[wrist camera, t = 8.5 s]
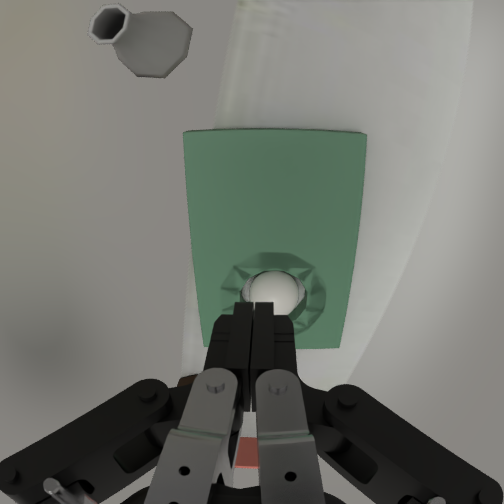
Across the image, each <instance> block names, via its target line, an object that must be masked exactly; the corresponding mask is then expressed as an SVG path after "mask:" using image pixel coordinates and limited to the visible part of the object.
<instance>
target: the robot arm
mask: <svg viewBox="0 0 504 504" xmlns="http://www.w3.org/2000/svg"><path fill="white" fill-rule="evenodd" d="M251 400H252V412H256V423H257V424H256V426H257V450H258V470H259V471H258V472H259V486H255V487H249V488H243V489H236V488H233V474H234V468H235V463H236V457H237V452H238V447H239V441H240V436H241V429H242V427H241V426H242V423H243V413H244V412H250V405H251ZM317 454H318V455H319V456H320V457H321V458H322V459H323V460H325V461H326V462H327V463H328V464H329V465H330V466H331V467H332V468H334V469H335V470H336V471H337V472H338V473H339V474H341V475H342V476H343V477H344V478H345V479H347V480H348V481H349V482H350V483H351V484H352V485H354V486H355V487H356V488H357V489H358V490H360V491H361V492H362V493H363V494H364V495H366V496H367V497H368V498H369V499H371V500H372V501H373V502H374V503H376V504H502V502H503V491H502V488H501V486H500V485H499V483H498V482H496V481H495V480H494V479H492V478H490V477H489V476H487V475H486V474H484V473H483V472H481V471H480V470H478V469H476V468H475V467H473V466H472V465H470V464H469V463H467V462H466V461H464V460H463V459H461V458H460V457H458V456H456V455H455V454H454V453H452V452H451V451H449V450H447V449H446V448H445V447H443V446H442V445H440V444H439V443H437V442H435V441H434V440H433V439H431V438H430V437H428V436H427V435H425V434H424V433H423V432H421V431H420V430H418V429H417V428H415V427H414V426H412V425H411V424H410V423H408V422H407V421H405V420H404V419H402V418H401V417H399V416H398V415H397V414H395V413H394V412H393V411H391V410H390V409H388V408H387V407H386V406H384V405H383V404H381V403H380V402H379V401H377V400H376V399H375V398H373V397H372V396H370V395H369V394H367V393H366V392H365V391H364V390H362V389H361V388H359V387H357V386H354V385H349V384H343V385H338V386H335V387H333V388H331V389H330V390H329V391H328V392H327V391H323V390H318V389H314V388H312V387H309V386H308V385H306V384H305V383H303V382H302V380H301V379H300V378H299V376H298V373H297V362H296V349H295V337H294V325H293V322H292V321H291V319H290V318H289V317H288V315H274V302H255V310H254V302H235V304H234V310H233V314H221V315H220V316H219V317H218V319H217V320H216V321H215V322H214V325H213V329H212V334H211V338H210V343H209V347H208V352H207V356H206V361H205V365H204V369H203V371H202V372H201V373H199V374H198V375H197V377H196V378H195V380H194V382H192V383H190V384H188V385H184V386H179V387H174V388H168V387H167V385H166V384H165V383H163V382H162V381H160V380H157V379H145V380H141V381H139V382H137V383H135V384H133V385H132V386H130V387H129V388H127V389H126V390H124V391H122V392H120V393H119V394H117V395H116V396H114V397H112V398H111V399H109V400H108V401H106V402H104V403H102V404H101V405H99V406H97V407H96V408H94V409H93V410H91V411H89V412H87V413H86V414H84V415H82V416H81V417H79V418H77V419H76V420H74V421H72V422H70V423H69V424H67V425H65V426H64V427H62V428H60V429H58V430H57V431H55V432H53V433H51V434H50V435H48V436H46V437H44V438H43V439H41V440H39V441H37V442H35V443H33V444H32V445H30V446H28V447H26V448H25V449H23V450H21V451H19V452H17V453H15V454H13V455H12V456H10V457H8V458H6V459H4V460H3V461H1V462H0V490H1V491H2V492H4V493H5V494H6V495H7V496H9V497H10V498H12V499H13V500H14V501H15V502H16V503H17V504H99V503H101V502H103V501H104V500H106V499H107V498H109V497H110V496H112V495H114V494H115V493H117V492H118V491H120V490H122V489H123V488H125V487H126V486H128V485H129V484H131V483H132V482H134V481H135V480H136V479H138V478H139V477H141V476H142V475H144V474H145V473H147V472H148V471H150V470H151V469H153V468H154V467H155V466H157V467H156V470H155V473H154V476H153V478H152V481H151V484H150V486H148V487H145V488H143V489H141V490H139V491H138V492H136V493H134V494H133V495H131V496H130V497H129V498H128V499H126V500H125V501H123V502H122V503H120V504H346V503H344V502H343V501H341V500H340V499H338V498H337V497H335V496H333V495H331V494H328V493H326V492H323V486H322V480H321V474H320V468H319V463H318V456H317Z"/></svg>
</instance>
